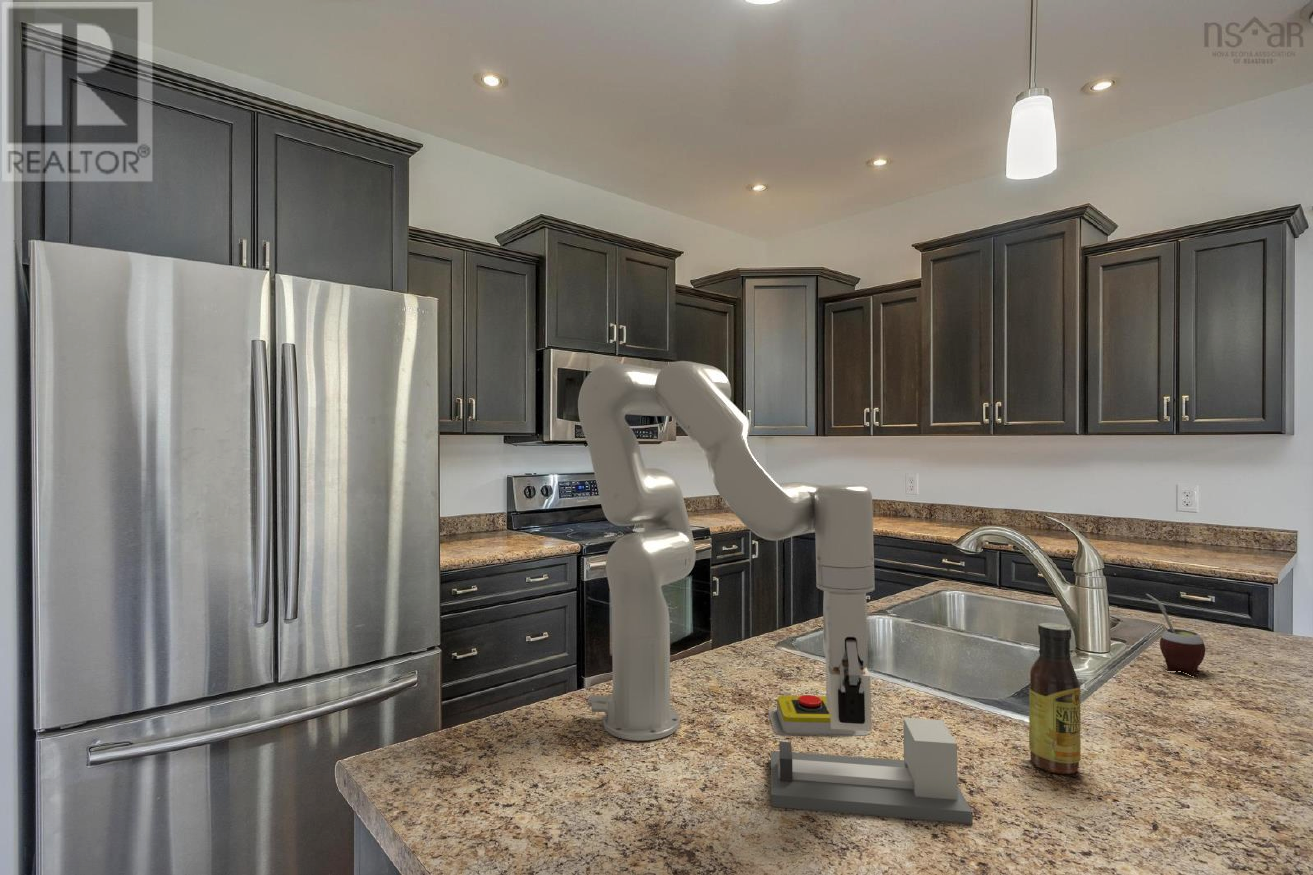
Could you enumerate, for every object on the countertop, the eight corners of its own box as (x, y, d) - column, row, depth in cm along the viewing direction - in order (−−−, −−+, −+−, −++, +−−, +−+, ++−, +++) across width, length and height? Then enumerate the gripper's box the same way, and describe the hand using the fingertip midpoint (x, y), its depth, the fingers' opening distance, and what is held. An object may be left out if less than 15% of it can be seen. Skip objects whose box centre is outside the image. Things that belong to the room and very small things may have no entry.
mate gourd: (1215, 678, 125) (1213, 601, 125) (1174, 678, 125) (1173, 601, 125) (1184, 665, 133) (1183, 592, 133) (1145, 665, 133) (1144, 592, 133)
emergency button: (767, 688, 112) (854, 689, 111) (767, 713, 112) (855, 714, 111) (774, 710, 102) (869, 711, 102) (774, 737, 102) (870, 739, 101)
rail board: (771, 806, 82) (770, 739, 82) (770, 761, 94) (770, 702, 94) (972, 824, 78) (971, 753, 78) (945, 774, 90) (944, 713, 90)
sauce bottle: (1063, 781, 87) (1061, 634, 88) (1019, 761, 93) (1017, 624, 93) (1091, 770, 90) (1089, 628, 91) (1047, 751, 96) (1045, 618, 96)
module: (831, 728, 83) (830, 672, 83) (826, 707, 90) (825, 655, 90) (871, 731, 82) (870, 674, 82) (863, 709, 89) (862, 657, 89)
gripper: (812, 565, 96) (814, 685, 95) (821, 590, 78) (824, 737, 78) (864, 565, 94) (867, 687, 94) (885, 591, 77) (889, 741, 77)
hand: (848, 709), depth 86 cm, fingers closed on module, 7 cm apart
